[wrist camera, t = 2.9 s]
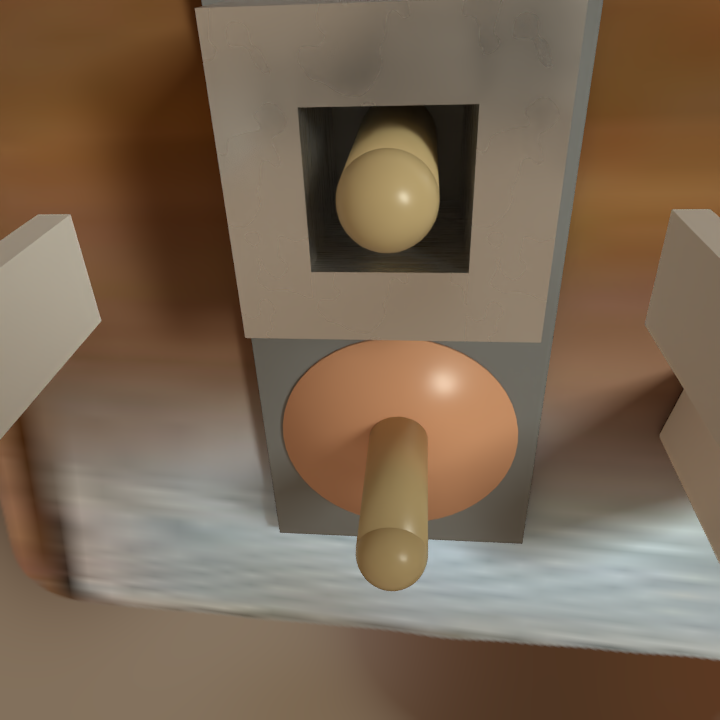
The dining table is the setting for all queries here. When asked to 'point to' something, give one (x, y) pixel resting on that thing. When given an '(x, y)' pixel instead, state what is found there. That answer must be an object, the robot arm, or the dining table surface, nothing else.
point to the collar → (392, 88)
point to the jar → (695, 465)
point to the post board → (410, 369)
